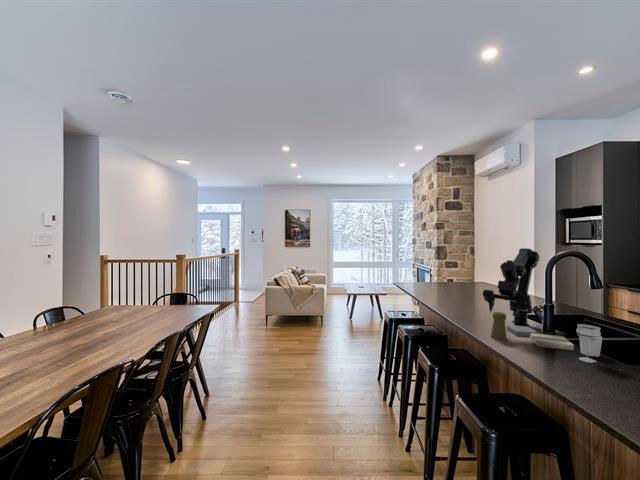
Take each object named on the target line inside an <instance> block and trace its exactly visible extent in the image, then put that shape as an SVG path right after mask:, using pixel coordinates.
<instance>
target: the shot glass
mask: <svg viewBox="0 0 640 480" xmlns="http://www.w3.org/2000/svg"><path fill="white" fill-rule="evenodd" d="M602 343H603V337H602V336H601V335H600V338H599V339H597V340H596V341H592V342H591V343H589V353H588V357H593V356H595V358H596V357H600V354H601V348H602ZM579 347H580V351H579V352H580V354H582V355H585V356H587V342H585V340H583V339H581V338H580V337H579Z"/></svg>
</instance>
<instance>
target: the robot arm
mask: <svg viewBox="0 0 640 480" xmlns="http://www.w3.org/2000/svg"><path fill="white" fill-rule="evenodd" d="M539 261H540V254H539V252H537V251H534V250H533V249H531V248H523V247H521V248H519V251H518V253H517V255H516V256H515V258H514V260H509V259H507V261H505V262H503V263H501V264H500V266H499V267H500V271H501V275H502V277H503V278H504V280H498V283H497V289H498V293H495V292H494V290H492V289H491V290H490V289H484V290H482V296H483V298H484V299H483V300H484V301H486V302H487V303H488V306H489V307H488V308H489V313H492V311H493V309H494V305H495V301H496V299H498V300H502V301H504V300H505V301H508V302H509V311H512V312H513V313H512V317H513V319H512V320H511V322H512V323H513V325H514V326H527V327H529V326H530V324H529V323H528V314H533V306H532V298H531V296H530V295H529V294H528V292H529V289H530V283H531V279H532V274H533V273H532V271H533V269H534V268H536V267H537V265H538V262H539Z"/></svg>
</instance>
